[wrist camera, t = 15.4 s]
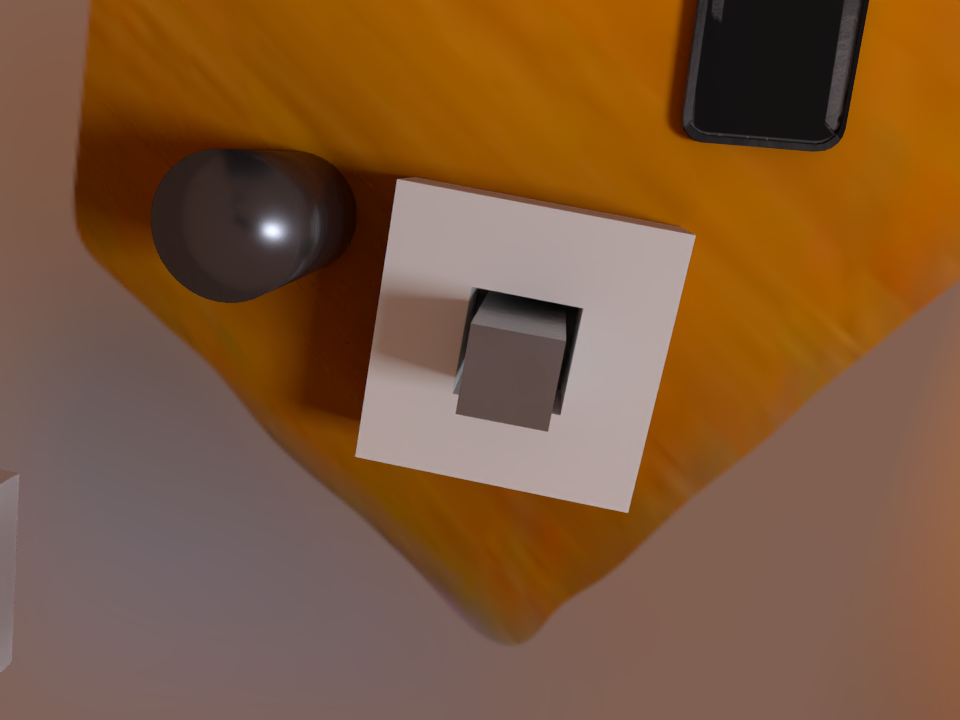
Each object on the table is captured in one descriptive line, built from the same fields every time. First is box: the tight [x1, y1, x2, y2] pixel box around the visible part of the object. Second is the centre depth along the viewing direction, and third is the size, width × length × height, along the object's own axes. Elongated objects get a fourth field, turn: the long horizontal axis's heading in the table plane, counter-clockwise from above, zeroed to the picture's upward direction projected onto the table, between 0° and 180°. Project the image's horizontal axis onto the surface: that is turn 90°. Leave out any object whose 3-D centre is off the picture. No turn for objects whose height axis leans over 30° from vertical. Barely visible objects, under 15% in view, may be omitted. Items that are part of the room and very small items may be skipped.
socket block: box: [355, 177, 696, 513], centre depth 42 cm, size 14×14×5 cm
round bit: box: [151, 149, 356, 303], centre depth 39 cm, size 6×6×10 cm
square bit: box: [456, 290, 566, 432], centre depth 39 cm, size 4×4×10 cm
